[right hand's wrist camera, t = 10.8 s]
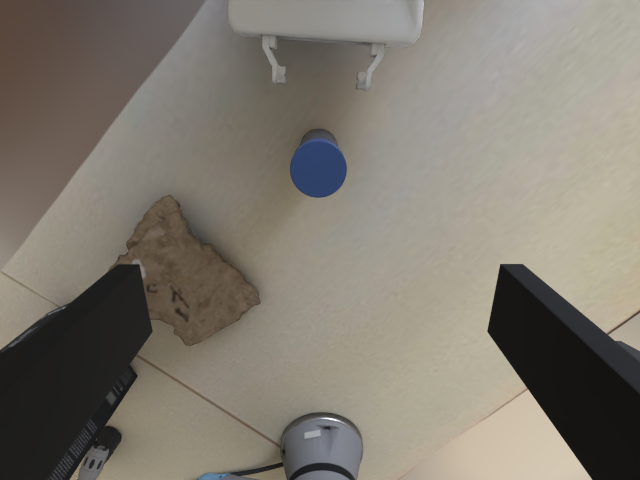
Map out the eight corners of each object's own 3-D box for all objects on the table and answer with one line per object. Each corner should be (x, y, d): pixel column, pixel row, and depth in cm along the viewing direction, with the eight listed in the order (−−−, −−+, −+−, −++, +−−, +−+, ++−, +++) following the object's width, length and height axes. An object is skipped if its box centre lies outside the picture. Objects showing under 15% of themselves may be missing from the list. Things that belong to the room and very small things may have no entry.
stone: (87, 253, 53) (74, 271, 47) (169, 187, 53) (165, 198, 47) (192, 339, 62) (191, 362, 57) (262, 284, 62) (268, 302, 57)
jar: (340, 132, 50) (349, 148, 35) (332, 169, 52) (338, 198, 37) (304, 125, 50) (297, 137, 35) (297, 162, 52) (288, 189, 37)
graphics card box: (45, 310, 60) (-157, 468, 34) (80, 293, 59) (-102, 444, 33) (110, 386, 65) (-23, 570, 40) (143, 372, 64) (27, 553, 39)
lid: (350, 144, 37) (352, 147, 35) (338, 196, 39) (339, 202, 37) (296, 133, 37) (295, 135, 34) (287, 186, 39) (285, 191, 36)
